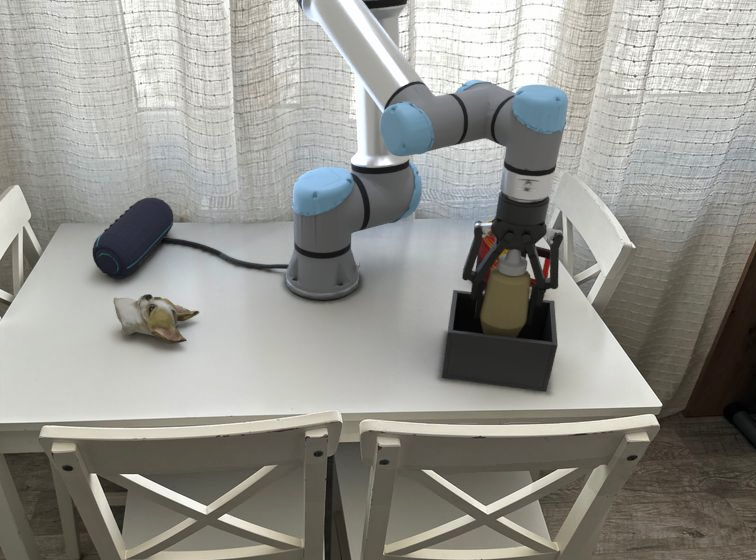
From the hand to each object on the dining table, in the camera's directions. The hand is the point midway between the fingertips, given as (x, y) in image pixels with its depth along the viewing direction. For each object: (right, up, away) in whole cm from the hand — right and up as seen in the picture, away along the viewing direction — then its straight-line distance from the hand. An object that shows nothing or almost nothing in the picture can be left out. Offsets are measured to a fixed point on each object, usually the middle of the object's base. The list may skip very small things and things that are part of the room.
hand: (502, 317), depth 123 cm
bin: (0, -8, +6) cm, 10 cm away
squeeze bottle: (0, -3, +2) cm, 3 cm away
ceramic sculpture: (-62, -2, +14) cm, 64 cm away
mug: (+9, +9, +28) cm, 30 cm away
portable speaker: (-72, +15, +38) cm, 83 cm away
